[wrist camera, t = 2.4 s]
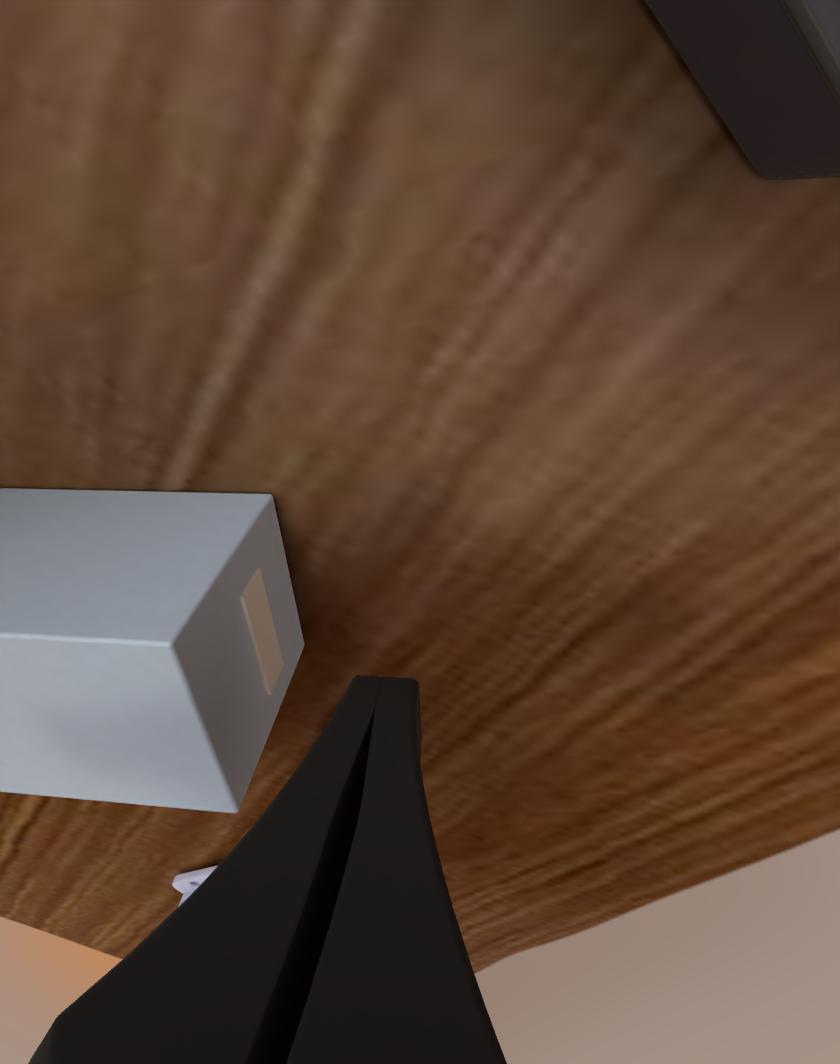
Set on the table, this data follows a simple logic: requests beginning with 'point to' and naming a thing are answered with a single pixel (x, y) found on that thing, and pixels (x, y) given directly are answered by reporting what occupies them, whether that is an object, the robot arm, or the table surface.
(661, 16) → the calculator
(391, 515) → the table surface
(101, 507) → the grey block
